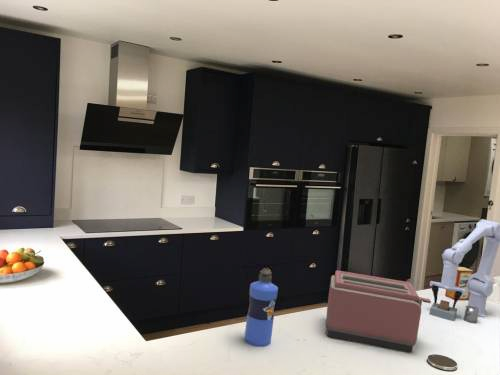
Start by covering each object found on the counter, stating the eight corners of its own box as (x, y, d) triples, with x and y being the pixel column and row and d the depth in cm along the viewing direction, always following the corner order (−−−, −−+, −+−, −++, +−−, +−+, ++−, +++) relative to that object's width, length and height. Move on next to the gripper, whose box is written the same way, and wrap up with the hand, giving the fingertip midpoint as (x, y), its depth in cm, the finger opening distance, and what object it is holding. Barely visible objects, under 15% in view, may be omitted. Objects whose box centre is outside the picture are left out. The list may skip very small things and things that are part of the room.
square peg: (439, 312, 198) (441, 299, 197) (447, 314, 196) (449, 302, 196) (438, 314, 195) (440, 301, 194) (446, 317, 193) (448, 304, 192)
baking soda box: (459, 295, 229) (464, 266, 227) (469, 300, 222) (474, 270, 221) (445, 295, 226) (449, 266, 224) (454, 300, 219) (459, 269, 218)
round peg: (464, 317, 195) (466, 304, 194) (477, 321, 192) (479, 308, 192) (463, 320, 190) (465, 307, 190) (476, 324, 188) (478, 311, 187)
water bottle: (276, 340, 148) (285, 270, 146) (261, 349, 140) (270, 275, 138) (253, 331, 153) (262, 263, 151) (238, 339, 145) (247, 267, 143)
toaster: (428, 357, 149) (437, 300, 147) (324, 337, 156) (331, 282, 154) (418, 335, 168) (426, 284, 166) (325, 318, 175) (332, 268, 173)
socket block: (433, 308, 202) (433, 302, 202) (456, 315, 197) (457, 308, 197) (429, 314, 194) (430, 307, 193) (453, 321, 188) (454, 314, 188)
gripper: (430, 273, 194) (426, 302, 195) (466, 281, 187) (461, 312, 188) (433, 270, 200) (428, 298, 201) (467, 278, 193) (462, 307, 194)
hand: (444, 305), depth 195 cm, fingers open, 7 cm apart
